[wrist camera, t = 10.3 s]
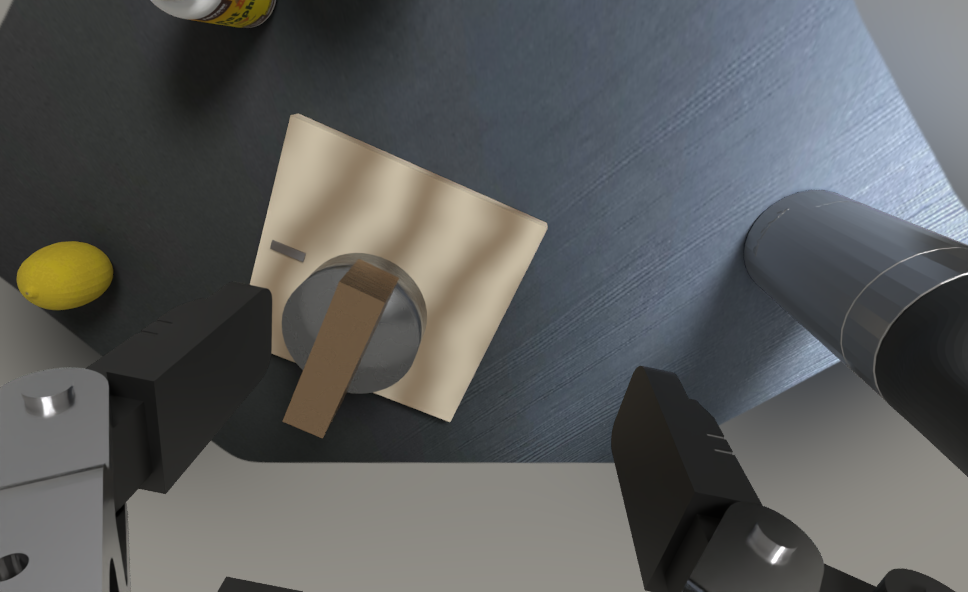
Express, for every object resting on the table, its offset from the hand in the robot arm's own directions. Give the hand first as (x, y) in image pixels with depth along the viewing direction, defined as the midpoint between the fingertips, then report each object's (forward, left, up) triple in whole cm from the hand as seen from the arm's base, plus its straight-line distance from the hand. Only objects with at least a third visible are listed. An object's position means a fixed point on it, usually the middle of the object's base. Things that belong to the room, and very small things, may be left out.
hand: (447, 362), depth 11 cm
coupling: (+5, +15, -30) cm, 34 cm away
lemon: (+30, +24, -32) cm, 50 cm away
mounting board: (+5, +15, -32) cm, 36 cm away
